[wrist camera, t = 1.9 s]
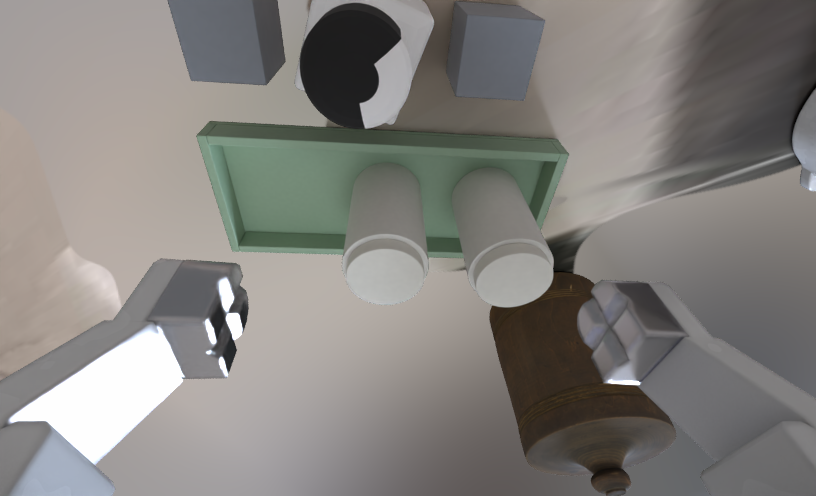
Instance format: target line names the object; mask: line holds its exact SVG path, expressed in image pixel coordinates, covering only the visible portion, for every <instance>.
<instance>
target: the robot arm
mask: <svg viewBox="0 0 816 496" xmlns="http://www.w3.org/2000/svg"><path fill="white" fill-rule="evenodd" d="M792 145H793V150H794V153H795V155H796V156H797V158H798V159H799V161H800V163H801V165H802V170H801V176H800V184H801V186H803V187H804V188H806V189H809V190H811V191H816V88H815V90H814V91H813V92H812V94H811V95H810V97H809V98H808V100H807V101H806V103H805V104H804V106H803V108H802V110H801V112H800V114H799V116H798V118H797V121H796V123H795V126H794V130H793V136H792ZM242 277H243V275H242V272H241V268H240V265H238V264H236V263H225V262H212V261H197V260H175V259H162V258H161V259H160V260H157V261H156V262H154V263H153V264H152V266H151V267H150V268H149V270H148V271H147V273H146V274H145V276H144V277H143V278H142V280H141V281H140V283H139V284H138V286H137V287H136V288H135V290H134V291H133V293H132V294H131V295H130V297H129V298H128V300H127V301H126V303H125V304H124V305H123V307H122V308H121V310H120V311H119V313H118V314H117V315H116V317H115V318H114V320H104V321H102V322H101V323H99V324H97V325H95V326H94V327H92V328H90V329H89V330H87V331H85V332H83V333H82V334H80V335H78V336H77V337H75V338H73V339H71V340H70V341H68V342H66V343H65V344H63V345H61V346H59V347H58V348H56V349H54V350H52V351H51V352H49V353H47V354H46V355H44V356H42V357H40V358H39V359H37V360H35V361H34V362H32V363H30V364H28V365H27V366H25V367H23V368H21V369H20V370H18V371H16V372H15V373H13V374H11V375H9V376H8V377H6V378H4V379H3V380H1V381H0V496H112V495H113V493H114V491H115V487H114V484H113V482H112V481H111V480H110V479H109V478H108V477H107V476H106V475H105V474H104V473H103V472H102V471H100V470H99V469H98V468H97V467H96V466H95V465H96V464H97V463H98V462H99V461H100V460H101V459H102V458H103V457H104V456H105V455H106V454H107V453H108V452H109V451H110V450H111V449H112V448H113V447H114V446H116V444H118V443H119V441H121V440H122V439H123V438H124V437H125V436H126V435H127V434H128V433H129V432H130V431H131V430H132V429H133V428H134V427H135V426H136V425H138V424H139V423H140V422H141V421H142V420H143V419H144V418H145V417H146V416H147V415H148V414H149V413H150V412H151V411H152V410H153V409H154V408H155V407H156V406H157V405H159V404H160V403H161V402H162V401H163V400H164V399H165V398H166V397H167V396H168V395H169V394H170V393H171V392H172V391H173V390H174V389H175V388H176V387H177V386H179V385H180V384H181V383H182V382H183V380H182V379H205V378H227V376H228V373H229V371H230V368H231V365H232V362H233V359H234V357H235V354H236V351H237V349H236V346H235V343H234V340H235V339H236V338H237V337H238V336H240V335H241V334H242V333H243V331H244V328H245V325H246V322H247V315H248V296H247V292H246V290H245V289H243V288H242V287H241V286H240V283H241V280H242ZM591 294H592V297H593V298H592V299H590V300H589V301H587V302H585V303H584V304H583V305H582V307H581V309H580V310H579V312H578V317H577V327H578V332H579V334H580V337H581V339H582V341H583V342H584V343H585V344H586V345H588V346H589V347H590V348H591V349H592V350H593V352H592V355H591V359H592V361H593V363H594V365H595V367H596V369H597V371H598V373H599V375H600V377H601V379H602V381H603V383H612V384H637V385H638V387H639V388H640V389H641V390H642V391H643V392H644V393H645V394H646V395H647V396H648V397H649V398H650V399H651V400H652V401H653V402H654V403H655V404H656V405H657V406H658V407H659V408H660V409H662V410H663V411H664V412H665V413H666V414H667V415H668V416H669V417H670V418H671V419H672V420H673V421H674V422H675V423H676V424H677V425H678V426H679V427H680V428H681V429H682V430H683V431H684V432H686V434H687V435H689V436H690V437H691V438H692V439H693V440H694V441H695V442H696V443H697V444H698V445H699V446H700V447H701V448H702V449H703V450H704V451H705V452H706V453H707V454H708V455H709V456H710V457H711V458H712V459H713V460H715V461H716V463H715V464H713V465H711V466H710V467H708V468H707V469H705V470H703V471H702V473H701V476H700V478H701V480H702V481H703V483H704V485H705V487H706V488H707V490H708V492H709V494H710V496H816V399H815V398H814V397H812V396H811V395H809V394H807V393H806V392H804V391H803V390H801V389H799V388H798V387H796V386H795V385H793V384H791V383H790V382H788V381H787V380H785V379H783V378H782V377H780V376H779V375H777V374H776V373H774V372H772V371H771V370H769V369H768V368H766V367H764V366H763V365H761V364H760V363H758V362H756V361H755V360H753V359H751V358H750V357H748V356H747V355H745V354H743V353H742V352H740V351H739V350H737V349H736V348H734V347H732V346H731V345H729V344H727V343H726V342H724V341H723V340H721V339H720V338H713V337H712V336H711V335H710V334H709V333H708V331H707V330H706V329H705V328H704V327H703V325H702V324H701V323H700V322H699V321H698V319H697V318H696V317H695V316H694V315H693V313H692V312H691V311H690V310H689V308H688V307H687V306H686V305H685V304H684V302H683V301H682V300H681V299H680V298H679V297H678V295H677V294H676V293H675V292H674V290H673V289H672V288H671V287H670V286H669V285H667V284H665V283H664V282H644V281H643V282H638V281H612V280H601V281H599V282H598V283H596V284H595V286H594V287H593V289H592V290H591Z"/></svg>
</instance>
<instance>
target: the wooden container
mask: <svg viewBox="0 0 816 496" xmlns="http://www.w3.org/2000/svg"><path fill="white" fill-rule="evenodd" d="M594 286H595V284H594V283H593V282H591V281H590V280H589V279H587V278H585V277H583V276H580V275H577V274H572V273H564V272H554V273H553V280H552V283H551V285H550V287H549V288H548V289H547V291H546V292H545V293H544V294H542V295H541V296H540V297H539V298H537V299H535V300H534V301H532V302H529V303H527V304H524V305H521V306H516V307H497V306H493V305H492V308H491V310H490V323H491V328H492V332H493V336H494V340H495V344H496V348H497V353H498V357H499V361H500V364H501V368H502V371H503V374H504V378H505V381H506V384H507V388H508V391H509V395H510V398H511V402H512V406H513V409H514V413H515V416H516V420H517V424H518V427H519V428H518V429H519V434H520V438H521V443H522V447H523V450H524V454H525V457H526V459H527V462H528V464H529V465H530V466H531V467H533V468H534V469H537V470H539V471H541V472H545V473H549V474H556V475H570V476H580V475H592V474H594V475H593V476H592V478H591V483H592V486H593V487H594V488H595V489H596V490H597V491H598V492H600V493H602V494H606V496H621V495H624V494H625V493H626V491H627V490H628V489H629V488H630V487H631V481H630V478H629V476H628V474H627V473H626V472H625V471H624V470H623V469H624V468H627V467H630V466H634V465H637V464H639V463H642V462H645V461H647V460H649V459H651V458H653V457H655V456H657V455H659V454H660V453H662V452H663V451H665V450H666V449H668V448H669V447H670V446H671V444H672V443H673V442H674V441H675V439H676V430H675V428H674V426H673V424H672V422H671V420H670V418H669V416H668V415H667V414H666V413H665V412H664V411H663V410H662V409H660V408H659V407H658V406H657V405H656V404H655V403H654V402H653V401H652V400H651V399H650V398H649V397H648V396H647V395H646V394H645V393H644V392H643V391H642V390H641V389H640V388H639V387H638V385H637V384H612V383H603V381H602V379H601V377H600V375H599V373H598V371H597V369H596V367H595V365H594V363H593V361H592V359H591V355H592V352H593V350H592V349H591V348H590V347H589V346H588V345H586V344H585V343H584V342H583V341H582V339H581V337H580V334H579V332H578V327H577V317H578V312H579V310H580V309H581V307H582V305H583V304H584V303H585V302H587V301H589V300H590V299H592V298H593V297H592V294H591V290H592V289H593V287H594Z"/></svg>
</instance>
